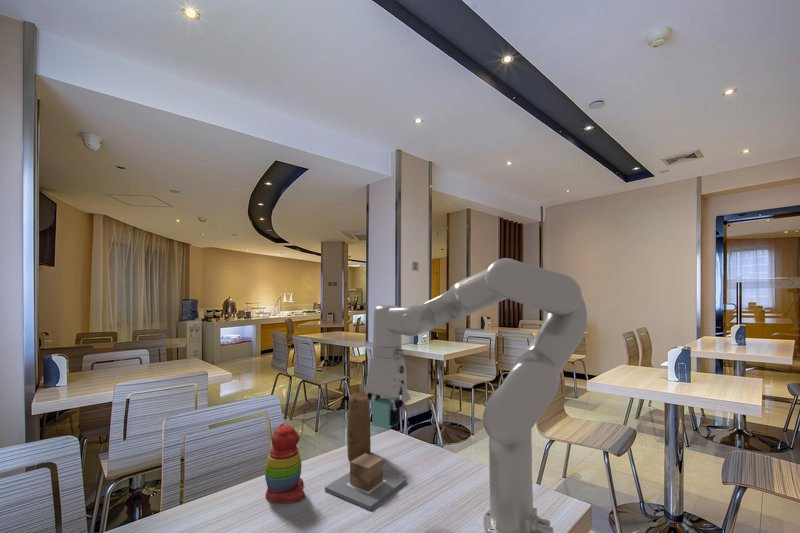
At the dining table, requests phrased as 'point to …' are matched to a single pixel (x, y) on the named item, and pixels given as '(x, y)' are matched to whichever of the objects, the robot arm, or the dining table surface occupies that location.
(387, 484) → the plate
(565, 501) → the dining table surface
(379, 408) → the teal block
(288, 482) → the stacking bear
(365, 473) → the walnut cube
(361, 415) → the brown rounded lumpy part
